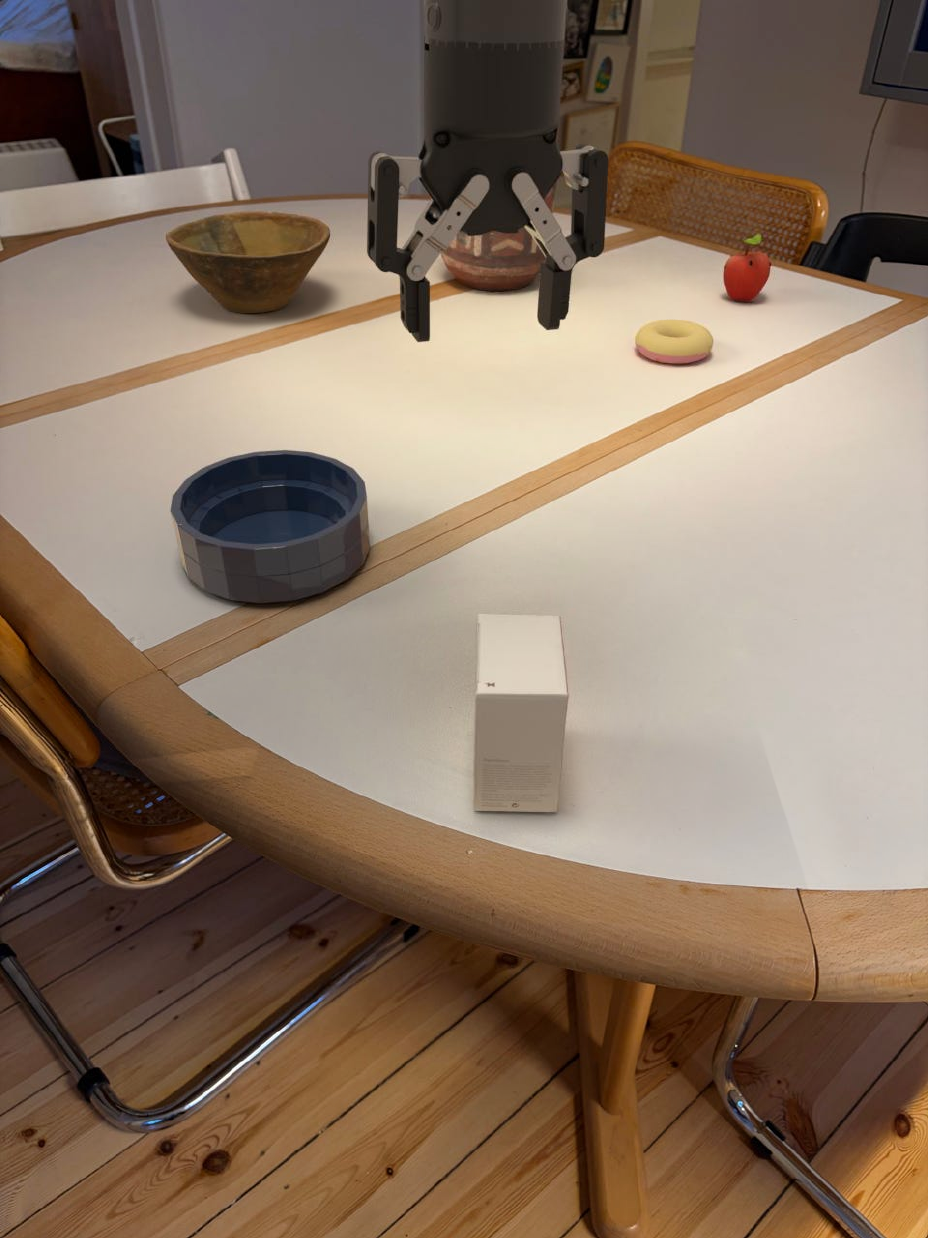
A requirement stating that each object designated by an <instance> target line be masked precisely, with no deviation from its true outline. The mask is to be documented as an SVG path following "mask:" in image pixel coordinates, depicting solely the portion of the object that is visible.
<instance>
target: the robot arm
mask: <svg viewBox="0 0 928 1238" xmlns="http://www.w3.org/2000/svg"><path fill="white" fill-rule="evenodd" d="M568 23H569V7H568V0H423V112H424V113H423V117H424V118H423V120H424V121H423V126H424V127H423V128H424V138H423V143H422V147H421V149H420V152H419V154H418V155H417V156H401V155H399V156H398V155H389V154H388V153H385V152H384V151H381V150H377V151H374V152H372V153H371V154H370V156H369V157H368V161H367V163H368V164H367V165H368V168H367V220H366V221H367V224H366V225H367V226H366V227H367V228H366V229H367V230H366V236H367V237H366V254H367V256H368V258H369V259H370V260H371V261H372V262H373V263H374V264H375V267H376V268H377V269H378V270H379V271H381V272H382V273H393V274H395V275H398V277H399V299H400V300H399V301H400V304H399V305H400V306H399V307H400V320H401V322H402V325H403V327H404V328H405V329H406V331H407V332H408V333H409V334H411V336H412V337H413V339H414V340H415V341H416V342H417V343H425V342H430V340H431V282H430V280H429V279H428V278H427V277H426V275H427V273H428V272H429V271H430V269H431V268H432V266H433V265H434V263H435V262H436V260H437V259H438V257H439V256H440V255H441V254H440V253H441V252H442V251H445V250H446V249H447V248H448V247H449V245H450V244H451V242H452V241H453V239H454V238H455V237H456V235H457V234H458V232H459V231H460V232H462V233H465V234H466V235H468V236H478V235H483V234H486V233H489V232H492V231H496V232H501V233H505V234H512V233H518V230H519V229H521V228H523V227H525V228H526V230H527V231H528V232H529V233H530V234H531V236H532V237H533V239H534V240H535V242H536V243H537V245H538V246H539V248H540V249H541V251H542V253H543V254H544V256H545V257H546V262H544V263H541V266H540V273H539V282H538V283H539V285H538V296H537V297H538V298H537V312H536V313H537V315H536V317H537V321H538V324H539V325H540V326H541V327H543V328H544V329H545V330H546V331H554V330H559V328H560V325H561V321H562V320H566V319H567V315H568V314H569V311H570V299H571V297H570V295H571V287H572V274H573V271H574V268H575V266H576V265H577V264H578V263H580V262H581V261H583V260H585V259H588V258H594V259H595V258H598V257H599V256H601V255H602V254H603V252H604V249H605V241H606V239H605V238H606V219H607V198H608V179H609V156H608V154H607V153H606V152H605V151H604V150H602V149H599V148H597V147H595V146H592V145H590V144H588V143H580V144H578V145H577V146H576V147H575V148H574V149H569V150H561V151H560V149H559V145H558V140H557V137H558V129H559V125H560V112H561V98H562V83H563V71H564V69H563V68H564V56H565V55H564V54H565V43H566V42H565V41H566V30H567V26H568ZM562 173H563V175H564V181H565V183H566V186H568V187H569V188H571V218H570V219H571V220H570V221H571V222H570V225H571V226H570V234H569V235H566V236H564V233H563V232H562V227H561V226H560V224H559V223H558V221H557V219H556V217H555V216H554V213H553V214H552V213H551V211H550V209H549V208H548V206H547V205H546V203H545V201H544V199H545V198H546V196H547V195H548V193H549V192H550V190H551V189H552V187H553V186H554V184H555V183H556V181H557V182H558V180H559V179H560V177H561V176H562V175H561V174H562ZM417 179H418V180H419V181H420V183H421V184H422V187H424V189H425V190H426V192H427V193H428V195H429V196H430V200H429V202H428V203H427V204H426V206H425V207H424V209H423V211H422V212H421V214H420V215H419V216H418V218H417V220H416V221H415V223H414V229H413V231H412V232H411V234H410V236H409V237H408V239H407V240H406V241H405V243H404V244H403V246H402V247H398V232H399V231H398V227H399V200H403V199H404V198H406V197H407V196H408V195H409V192H410V189H411V185H412V183H413V182H414V181H415V180H417ZM556 184H557V183H556ZM448 226H449V227H448ZM447 227H448V228H447Z"/></svg>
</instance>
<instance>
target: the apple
mask: <svg viewBox="0 0 928 1238" xmlns="http://www.w3.org/2000/svg"><path fill="white" fill-rule="evenodd" d="M761 241H762V234H761V233H758V234H756V235H754V236H753V237H751V238H745V239H744V240H743V243H745V252H739V253H737V254H731V255H730V256H729V257H728V258H727V260H726V262H725V264H724V266H723V273H722V274H723V284H724V288H725V291H726V294H727V296H728V297H729V299H730V300H732V301H734V302H744V303H749V302H752V301H753V300H755V299H756V297H757V296H758V295H759V294H760V292H761V291H762V290H763V289H764V287H765V286H766V284H767V282H768V280H769V278H770V274H771V267H772V262H771V261H770V259H769V257H768V255H767V254H766V253H764V252H761V251H749V250H750V248H751V245H757V244H761Z"/></svg>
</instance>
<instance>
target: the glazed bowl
mask: <svg viewBox="0 0 928 1238" xmlns="http://www.w3.org/2000/svg"><path fill="white" fill-rule="evenodd" d="M367 495H368V494H367V487H366V482H365V480H364V479H363V478H362V477H361V476H360V475H359V473H358V471H356V470H355V468H353V467H351V466H349V465H347V464H345V463H344V462H342V461H340V460H339V459H337V458H334V457H331V456H327V455H325V454H324V455H323V454H319V453H316V452H313V451H305V450H304V451H303V450H291V449H281V450H280V449H279V450H278V449H276V450H264V451H263V450H262V451H253V452H248V453H243V454H238V455H234V456H229V457H226V458H224V459H221V460H219V461H216V462H214V463H211V464H208V465H206V466H204V467H202V468H201V469H199V470H197V471H196V472H195V473H193V474H192V475H190V476H189V477H186V479H184V480H183V481H182V483H181V484H180V485H179V487H178V488H177V489H176V491H175V492H174V493H173V495H172V499H171V505H170V510H169V511H170V516H171V520H172V524H173V529H174V534H175V539H176V542H177V543H176V544H177V549H178V554H179V557H180V558H179V559H180V562H181V564H182V567H183V569H184V572H185V573H186V575H187V578H188V579H189V580H191V581H192V582H193V583H194V584H196V585H197V586H198V587H199V588H201V589H202V590H204V591H205V592H207V593H210V594H212V595H215V596H218V597H220V598H224V599H226V600H229V601H236V602H237V601H238V602H245V603H247V602H248V603H255V604H268V603H279V602H291V601H296V600H301V599H304V598H308V597H311V596H314V595H318V594H322V593H324V592H326V591H328V590H330V589H332V588H334V587H335V586H337V585H339V584H341V583H343V582H345V581H347V580H348V579H349V578H351V576H352V575H353V574H354V573H355V572H357V571H358V570H359V569H360V568H361V567H362V566H363V565H364V563H365V560H366V558H367V555H368V553H369V551H370V550H371V543H370V541H371V540H370V524H369V509H368V507H369V506H368V496H367Z"/></svg>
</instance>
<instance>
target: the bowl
mask: <svg viewBox="0 0 928 1238" xmlns="http://www.w3.org/2000/svg"><path fill="white" fill-rule="evenodd" d="M330 239H331V230H330V227H329V226H327V224H326V223H324V222H323V221H321V220H320V219H318V218H315V217H311V216H307V215H301V214H300V215H299V214H297V213H295V214H294V213H286V212H277V211H276V212H275V211H272V212H269V211H234V212H230V213H224V214H214V215H209V216H206V217H204V218H200V219H198V220H194V221H191V222H187V223H184V224H182V225H178V226H177V227H175V228H174V229H172V230H170V231H168V232H167V233H166V234H165V240H166V243H167V244H168V246H169V248H170V250H171V251H172V252H173V254H174V255H175V256H176V258H177V259H178V261H180V263H181V265H182V266H183V267H184V268H185V270H186V271H187V272H188V274H189V275H190V276H191V277H192V278H193V279H194V280H195V281H196V282H197V283H198V284H199V285H200V287H202V288H203V289H204V290H205V291H206V292H207V293H208V294H209V295H210V296H211V297H212V298H213V299H214V300H215V301H216V302H217V303H218V304H219V305H220V306H221V307H222V308H223V309H224V310H226V311H230V312H233V313H240V314H258V313H268V312H269V313H270V312H273V311H276V310H277V311H278V310H280V309H282V308H284V307H285V306H286V305H288V304H289V302H290V301H291V299H292V298H293V296H294V294H295V293H296V292H297V290H298V289H299V288H300V286H301V285H302V283H303V282H304V281H305V279H306V277H307V276H308V274H309V273H310V271H311V270H312V268H313V267H314V265H315V264H316V263H317V262H318V260H319V258H320V257H321V256H322V254H323V252H324V251H325V249H326V248H327V245H328V243H329V241H330Z"/></svg>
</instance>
